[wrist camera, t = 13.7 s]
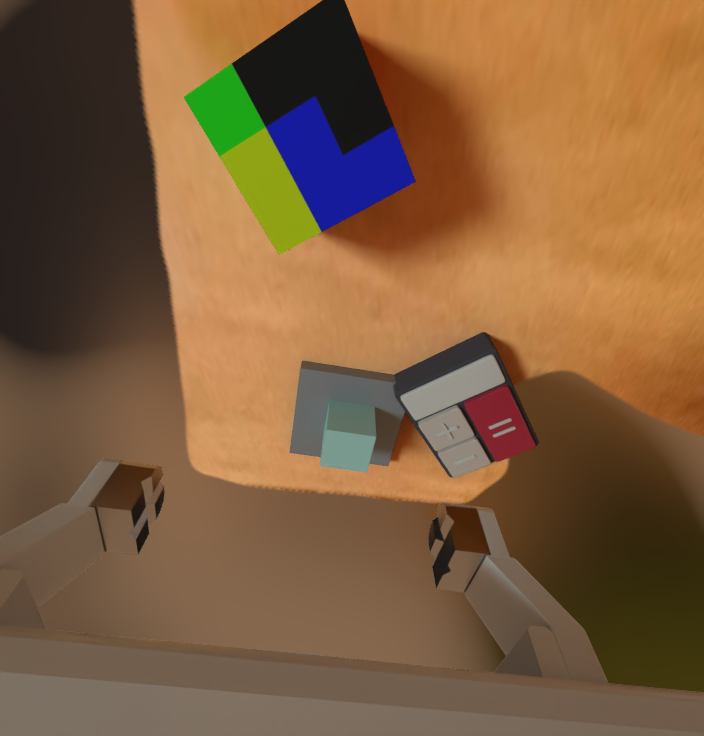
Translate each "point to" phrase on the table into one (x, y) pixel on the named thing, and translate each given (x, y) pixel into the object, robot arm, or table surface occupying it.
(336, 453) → the teal cube
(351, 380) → the slate coaster
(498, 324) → the table surface
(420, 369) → the calculator
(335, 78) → the puzzle toy
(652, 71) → the table surface
